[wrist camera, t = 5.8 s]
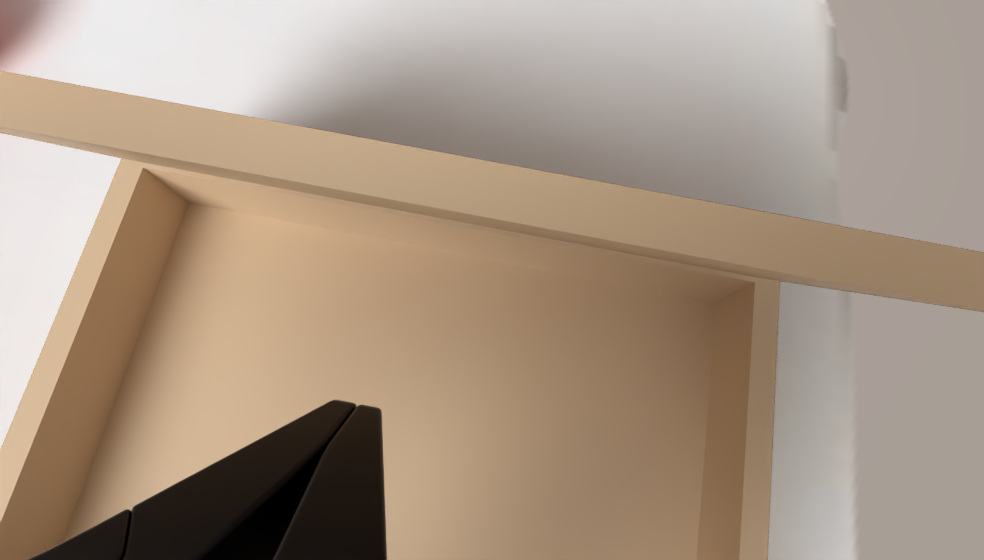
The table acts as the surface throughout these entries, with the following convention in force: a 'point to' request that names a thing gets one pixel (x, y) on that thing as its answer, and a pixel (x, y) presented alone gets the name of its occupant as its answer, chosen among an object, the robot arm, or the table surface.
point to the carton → (402, 375)
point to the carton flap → (490, 193)
